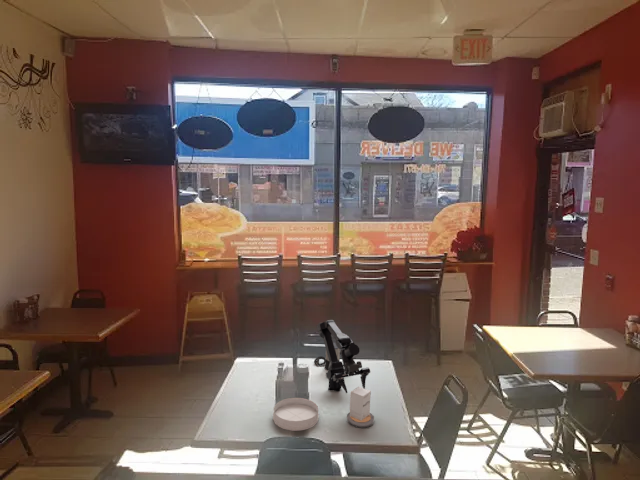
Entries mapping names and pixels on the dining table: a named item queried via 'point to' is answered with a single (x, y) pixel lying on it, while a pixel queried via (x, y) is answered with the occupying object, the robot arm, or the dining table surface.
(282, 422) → the dish
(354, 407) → the supplement box
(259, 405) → the dining table surface
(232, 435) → the dining table surface
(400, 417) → the dining table surface
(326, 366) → the milk frother
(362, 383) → the robot arm
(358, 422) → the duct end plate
